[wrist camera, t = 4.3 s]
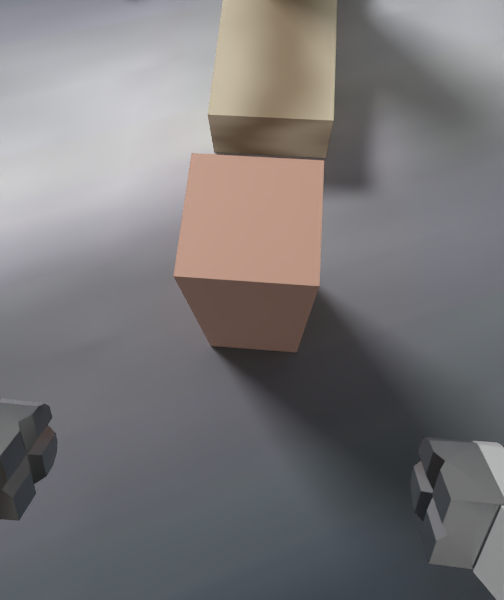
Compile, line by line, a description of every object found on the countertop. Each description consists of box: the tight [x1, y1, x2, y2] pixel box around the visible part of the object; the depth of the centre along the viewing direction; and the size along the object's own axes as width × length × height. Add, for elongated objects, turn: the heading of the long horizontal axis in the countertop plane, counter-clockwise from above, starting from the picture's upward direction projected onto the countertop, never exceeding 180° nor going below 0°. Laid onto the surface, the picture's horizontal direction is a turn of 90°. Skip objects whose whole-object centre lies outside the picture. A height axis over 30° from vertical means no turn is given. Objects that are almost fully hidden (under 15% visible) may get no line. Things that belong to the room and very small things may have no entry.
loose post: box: [174, 153, 324, 352], centre depth 17 cm, size 4×4×9 cm
